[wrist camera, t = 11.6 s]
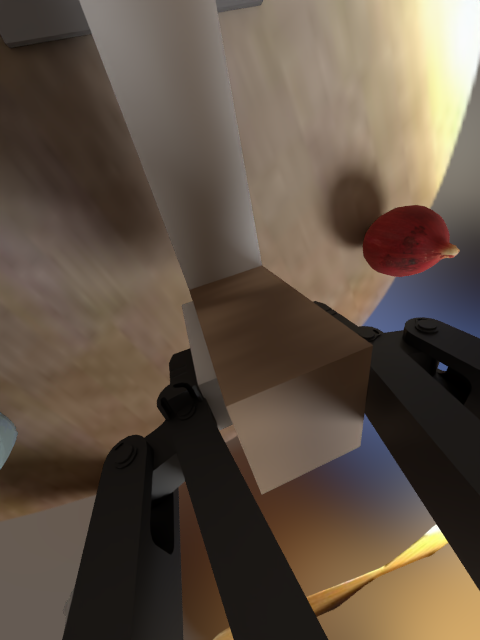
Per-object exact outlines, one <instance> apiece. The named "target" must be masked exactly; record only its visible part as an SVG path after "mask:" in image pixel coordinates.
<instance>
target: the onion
mask: <svg viewBox="0 0 480 640" xmlns="http://www.w3.org/2000/svg"><path fill="white" fill-rule="evenodd" d="M459 251H460V250H459V249H458V248H457V247H456V246H455V245H452V244H451V243H449V231H448V229H447V226H446V224H445V222H444V220H443V219H442V217H441V216H440V215H438V214H437V213H435V212H434V211H433V210H431V209H429V208H427V207H425V206H418V205H413V206H404V207H398V208H395V209H393V210H391V211H389V212H387V213H385V214H383V215H381V216H380V217H379V218H378V219H377V220H376V221H375V222H374V223H373V224H372V225H371V226H370V227H369V229H368V231H367V232H366V234H365V238H364V241H363V255H364V257H365V259H366V261H367V262H368V264H369V265H370V266H371V268H373V269H374V270H376V271H377V272H379V273H383V274H386V275H390V276H397V277H402V276H409V275H413V274H417V273H420V272H423V271H425V270H427V269H428V268H430V267H432V266H433V265H435V264H436V263H438V262H439V261H440V260H441V259H443V258H452V257H454V256H455V255H457V254H458V252H459Z"/></svg>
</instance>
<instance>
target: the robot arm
mask: <svg viewBox="0 0 480 640" xmlns="http://www.w3.org/2000/svg"><path fill="white" fill-rule="evenodd" d="M314 303H315V304H316V305H318V306H319V307H320V308H322V309H323V310H325V311H326V312H327V313H329V314H330V315H332V316H333V317H334V318H336V319H337V320H339V321H340V322H341V323H343V324H344V325H346V326H347V327H348V328H350V329H351V330H353V331H354V332H355V333H357V334H358V335H359V336H361V337H362V338H364V339H365V340H366V341H368V342H369V343H371V344H372V345H373V348H372V356H371V364H370V372H369V380H368V388H367V396H366V404H365V412H364V413H365V414H366V416H367V417H368V419H369V421H370V422H371V423H372V425H373V427H374V428H375V430H376V431H377V433H378V434H379V436H380V438H381V439H382V441H383V442H384V444H385V445H386V447H387V448H388V450H389V451H390V453H391V455H392V456H393V458H394V459H395V461H396V462H397V464H398V465H399V467H400V468H401V470H402V471H403V473H404V475H405V476H406V478H407V479H408V481H409V482H410V484H411V485H412V487H413V488H414V490H415V492H416V493H417V495H418V496H419V498H420V499H421V501H422V502H423V504H424V506H425V507H426V509H427V510H428V512H429V513H430V515H431V516H432V518H433V519H434V521H435V522H436V524H437V526H438V527H439V529H440V530H441V532H442V533H443V535H444V536H445V538H446V539H447V541H448V543H449V544H450V545H451V547H452V549H453V550H454V552H455V553H456V554H457V556H458V558H459V560H460V561H461V563H462V564H463V565H464V567H465V569H466V570H467V572H468V573H469V575H470V576H471V578H472V580H473V581H474V583H475V584H476V586H477V587H478V589H479V590H480V339H479V338H477V337H475V336H473V335H470V334H468V333H466V332H464V331H461V330H459V329H457V328H454V327H452V326H450V325H448V324H445V323H443V322H441V321H438V320H435V319H431V318H413V319H410V320H408V321H407V322H406V323H405V327H404V330H402V331H395V332H387V333H383V332H382V331H380V330H378V329H376V328H373V327H368V326H361V327H358V326H357V325H355V324H354V323H352V322H351V321H349V320H348V319H346V318H345V317H343V316H342V315H340V314H339V313H337V312H336V311H334V310H332V309H331V308H330V307H329V306H327V305H326V304H323V303H320V302H317V301H314ZM182 309H183V314H184V319H185V324H186V329H187V334H188V339H189V343H190V349H187V350H184V351H182V352H179V353H176V354H174V355H173V356H172V358H171V360H170V362H169V371H170V385H168V386H167V387H165V388H164V390H163V391H162V392H161V393H160V395H159V397H158V399H157V407H158V409H159V410H160V412H161V413H162V415H163V416H164V418H165V419H166V420H165V421H164V422H163V424H162V425H161V426H159V427H158V428H157V429H156V430H154V431H153V432H152V433H150V434H149V435H148V436H146V437H145V438H143V436H140V435H132V436H128V437H126V438H124V439H123V440H121V441H120V442H119V443H117V444H116V445H115V446H114V447H113V448H112V450H111V451H110V452H109V454H108V455H107V457H106V460H105V462H104V465H103V469H102V473H101V478H100V482H99V486H98V490H97V495H96V499H95V503H94V507H93V512H92V516H91V520H90V524H89V529H88V533H87V537H86V542H85V546H84V550H83V554H82V559H81V563H80V567H79V571H78V575H77V580H76V584H75V588H74V592H73V596H72V601H71V605H70V609H69V613H68V618H67V622H66V626H65V631H64V635H63V639H62V640H183V616H182V584H181V553H180V525H179V523H180V522H179V491H178V487H179V486H180V485H181V484H182V483H183V482H184V481H185V482H186V485H187V488H188V491H189V495H190V498H191V501H192V504H193V508H194V511H195V514H196V518H197V521H198V524H199V527H200V530H201V534H202V537H203V541H204V544H205V547H206V550H207V554H208V557H209V560H210V563H211V567H212V570H213V573H214V577H215V580H216V583H217V586H218V589H219V593H220V596H221V599H222V602H223V606H224V609H225V613H226V616H227V619H228V622H229V626H230V629H231V632H232V635H233V639H234V640H328V638H327V636H326V634H325V633H324V631H323V629H322V627H321V625H320V623H319V621H318V619H317V617H316V615H315V613H314V611H313V610H312V608H311V606H310V604H309V602H308V600H307V598H306V596H305V595H304V592H303V591H302V589H301V587H300V585H299V583H298V581H297V579H296V577H295V575H294V573H293V571H292V569H291V568H290V566H289V564H288V562H287V560H286V558H285V556H284V554H283V552H282V550H281V548H280V547H279V545H278V543H277V541H276V539H275V537H274V535H273V533H272V531H271V529H270V528H269V526H268V524H267V522H266V520H265V518H264V516H263V514H262V512H261V510H260V508H259V506H258V505H257V503H256V501H255V499H254V497H253V495H252V493H251V491H250V489H249V488H248V486H247V484H246V482H245V480H244V478H243V476H242V474H241V472H240V470H239V468H238V466H237V464H236V463H235V461H234V459H233V457H232V455H231V453H230V451H229V449H228V447H227V445H226V443H225V442H224V440H223V438H222V436H221V434H220V432H219V430H221V429H224V428H226V427H228V426H231V425H233V423H232V421H231V418H230V416H229V414H228V411H227V409H226V406H225V403H224V400H223V396H222V393H221V390H220V387H219V384H218V380H217V377H216V374H215V371H214V368H213V364H212V361H211V358H210V355H209V351H208V348H207V345H206V342H205V339H204V335H203V332H202V329H201V326H200V323H199V319H198V316H197V313H196V310H195V307H194V303H193V301H192V302H189V303H186V304H183V305H182ZM439 362H441V363H443V364H445V365H446V366H448V369H447V371H442V370H440V369H438V365H439ZM218 428H219V430H218Z"/></svg>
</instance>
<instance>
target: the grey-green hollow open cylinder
mask: <svg viewBox="0 0 480 640" xmlns="http://www.w3.org/2000/svg"><path fill="white" fill-rule="evenodd" d="M15 429H16V427H15V426H14V424H13V423H12V422H11V421H10V420H9V419H8V418H7V417H6V416H5V415H3V414H2V413H1V412H0V469H1V468H2V466H3V465H4V463H5V462H6V460H7V458H8V456H9V454H10V452H11V450H12V448H13V446H14V444H15V441H16V438H17V437H16V436H17V435H18V433H17V431H16V430H15Z"/></svg>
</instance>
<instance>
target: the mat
mask: <svg viewBox="0 0 480 640" xmlns="http://www.w3.org/2000/svg"><path fill="white" fill-rule="evenodd" d="M262 2H263V0H216V6H217V12H223V11H229V10H235V9H241V8H247V7H253V6H258V5H261V4H262ZM88 34H92V33H91V30H90V27H89V25H88V22H87V20H86V17H85V14H84V12H83V9H82V6H81V4H80V1H79V0H0V35H1V37H2V39H3V40H4V42H5V44H6V45H7V46H8V47H9V48H12V47H18V46H24V45H30V44H36V43H41V42H47V41H53V40H59V39H65V38H71V37H77V36H82V35H88Z"/></svg>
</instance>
